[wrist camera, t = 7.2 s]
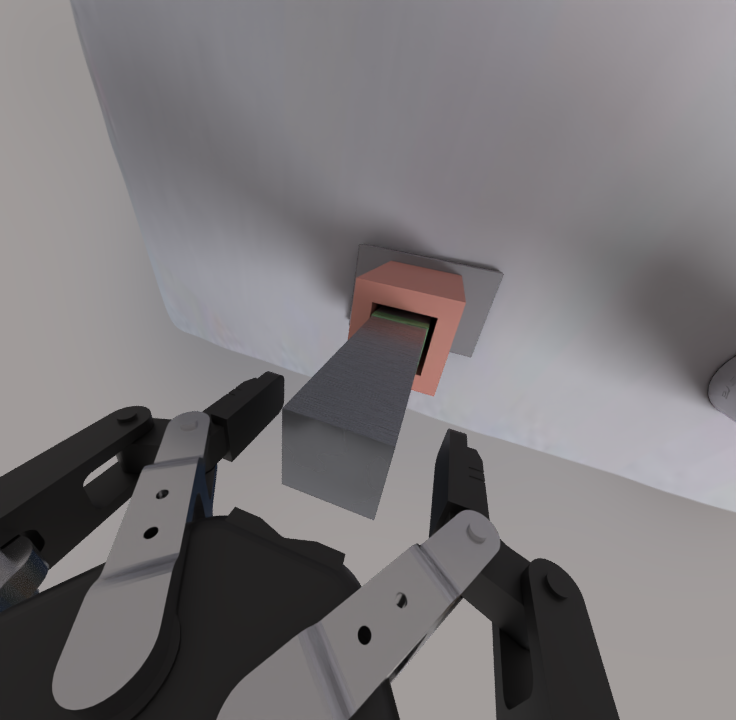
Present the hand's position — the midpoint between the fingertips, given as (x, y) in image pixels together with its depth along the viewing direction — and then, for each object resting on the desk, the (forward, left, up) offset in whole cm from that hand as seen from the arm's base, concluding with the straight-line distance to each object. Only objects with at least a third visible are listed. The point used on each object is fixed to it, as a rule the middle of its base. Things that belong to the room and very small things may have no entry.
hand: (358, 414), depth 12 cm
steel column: (0, 0, -15) cm, 15 cm away
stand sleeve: (0, 0, -24) cm, 24 cm away
